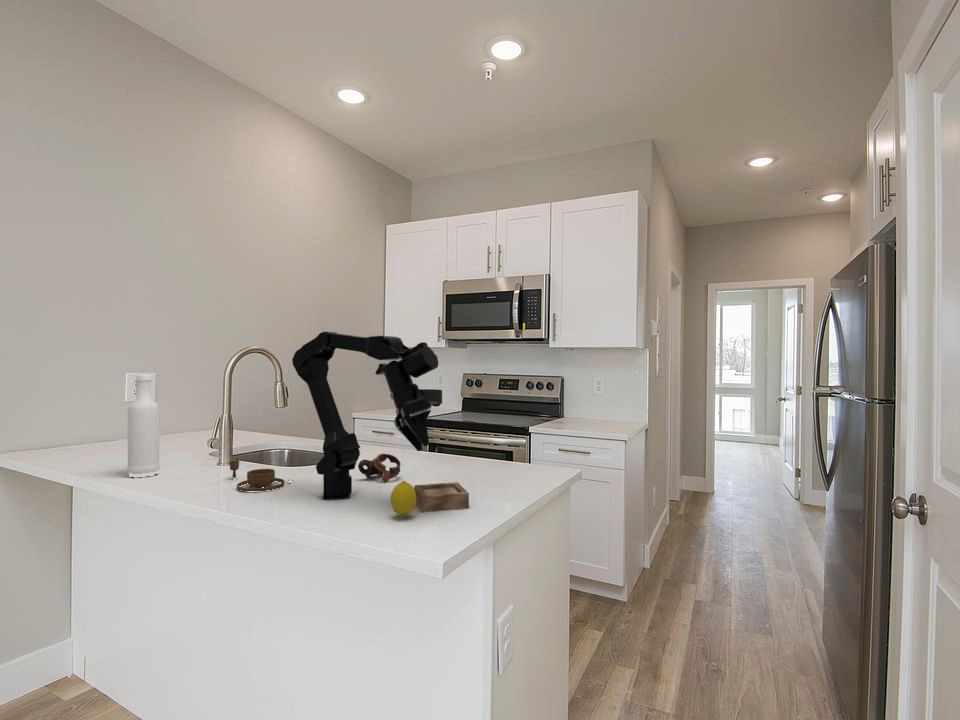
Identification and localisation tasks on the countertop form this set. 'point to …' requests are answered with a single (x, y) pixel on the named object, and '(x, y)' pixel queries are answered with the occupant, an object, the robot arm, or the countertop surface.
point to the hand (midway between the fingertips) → (423, 448)
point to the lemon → (403, 499)
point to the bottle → (143, 430)
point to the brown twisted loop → (380, 467)
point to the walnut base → (441, 497)
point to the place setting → (257, 478)
